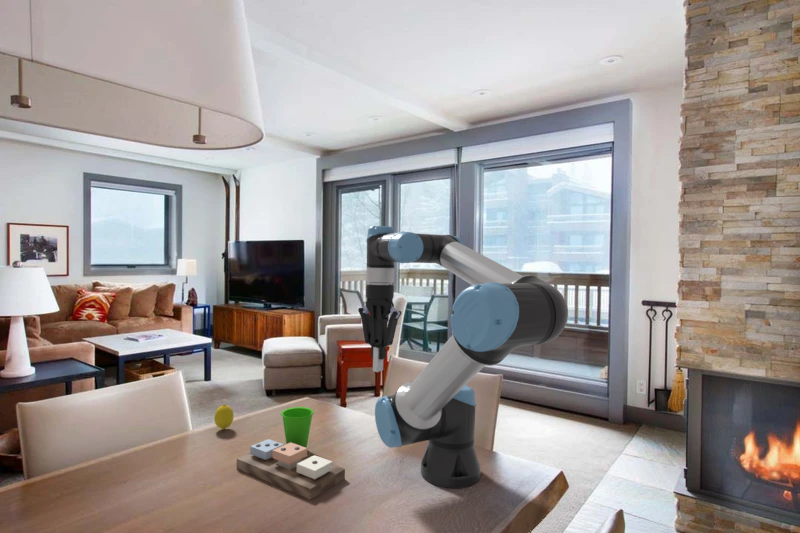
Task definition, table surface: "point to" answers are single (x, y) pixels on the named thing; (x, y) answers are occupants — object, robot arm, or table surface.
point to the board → (290, 476)
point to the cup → (297, 425)
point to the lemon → (223, 416)
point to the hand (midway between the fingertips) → (377, 370)
